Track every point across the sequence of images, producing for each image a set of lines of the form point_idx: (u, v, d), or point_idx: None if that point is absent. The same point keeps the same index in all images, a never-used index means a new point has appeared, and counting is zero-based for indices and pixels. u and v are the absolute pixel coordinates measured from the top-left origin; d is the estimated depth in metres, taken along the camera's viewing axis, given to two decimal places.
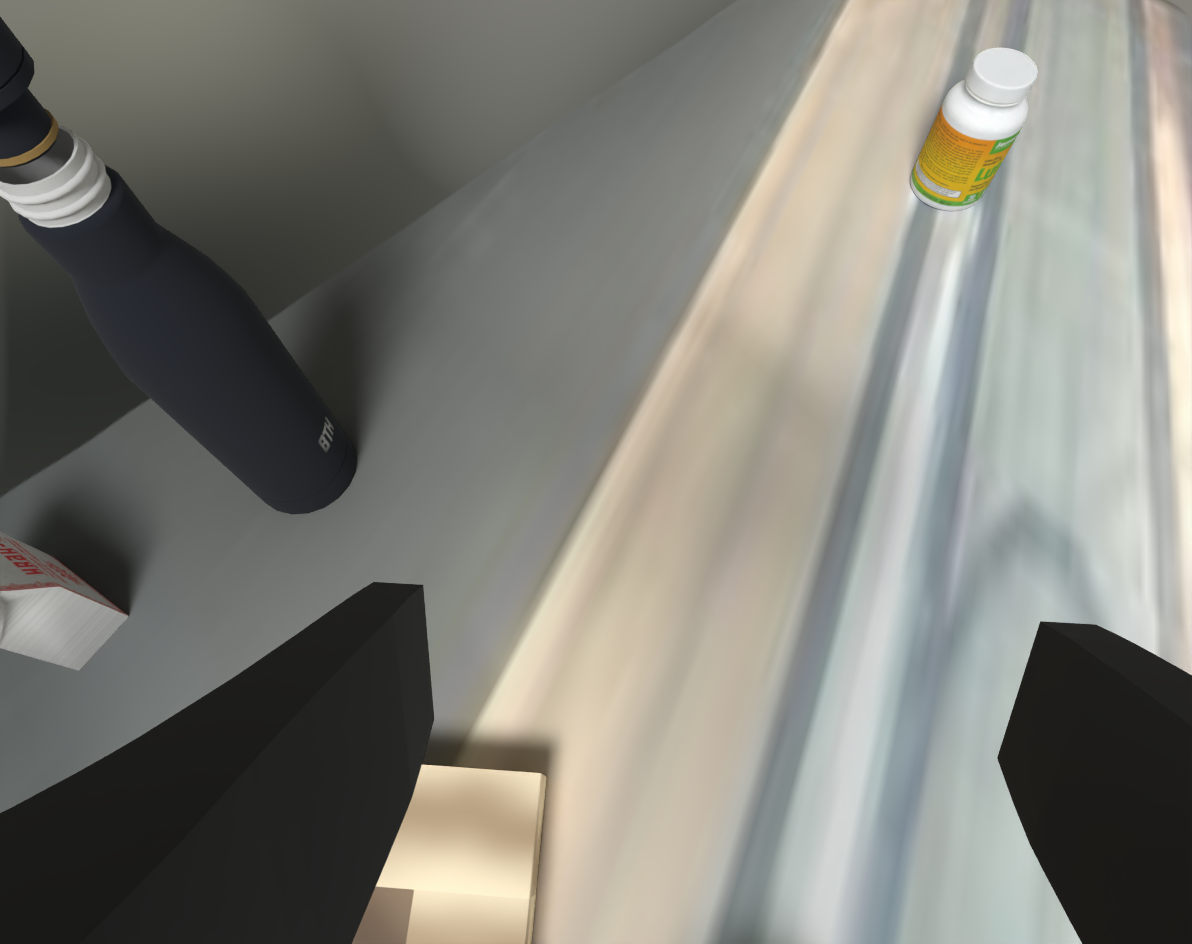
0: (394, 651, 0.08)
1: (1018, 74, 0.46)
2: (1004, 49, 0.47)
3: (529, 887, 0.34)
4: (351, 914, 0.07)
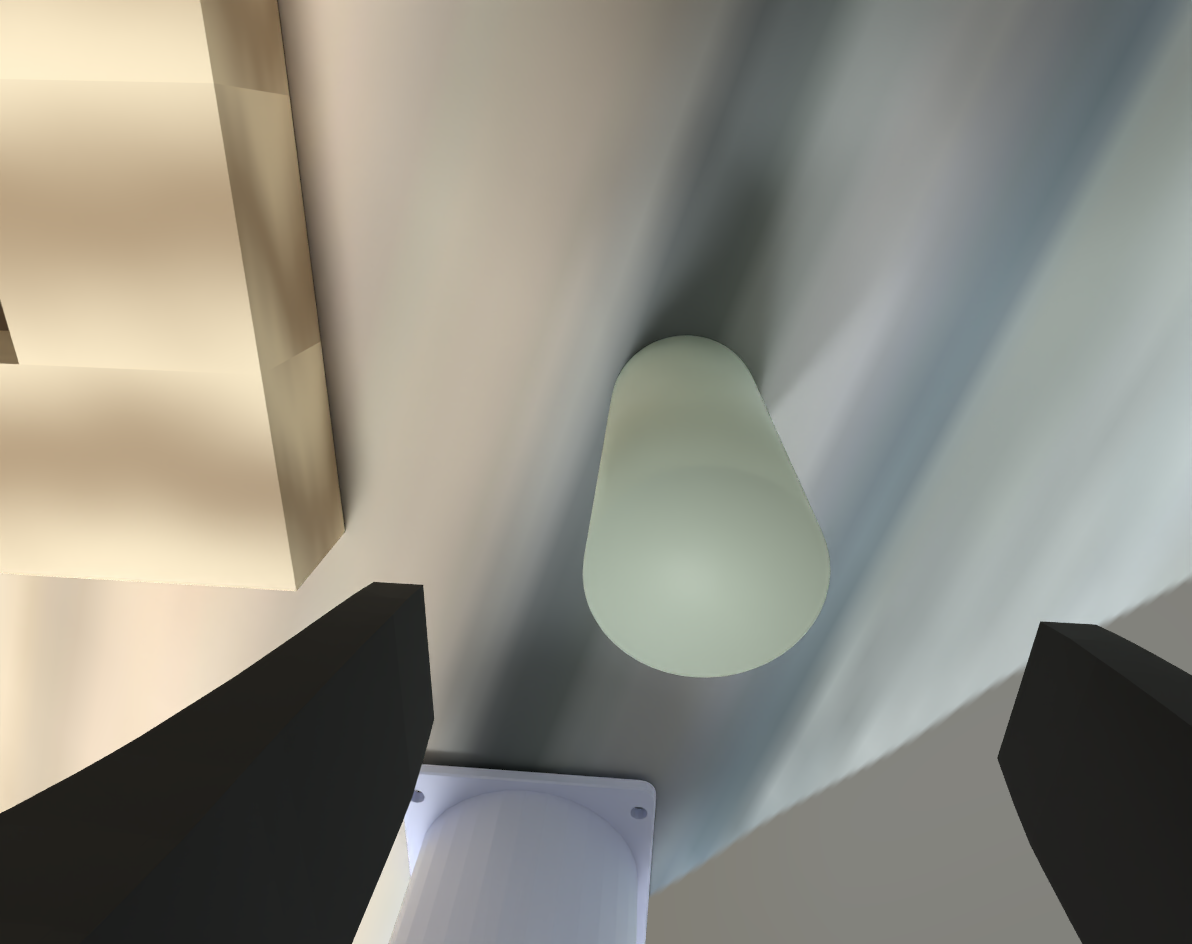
0: (394, 651, 0.08)
1: None
2: None
3: (207, 54, 0.13)
4: (351, 914, 0.07)
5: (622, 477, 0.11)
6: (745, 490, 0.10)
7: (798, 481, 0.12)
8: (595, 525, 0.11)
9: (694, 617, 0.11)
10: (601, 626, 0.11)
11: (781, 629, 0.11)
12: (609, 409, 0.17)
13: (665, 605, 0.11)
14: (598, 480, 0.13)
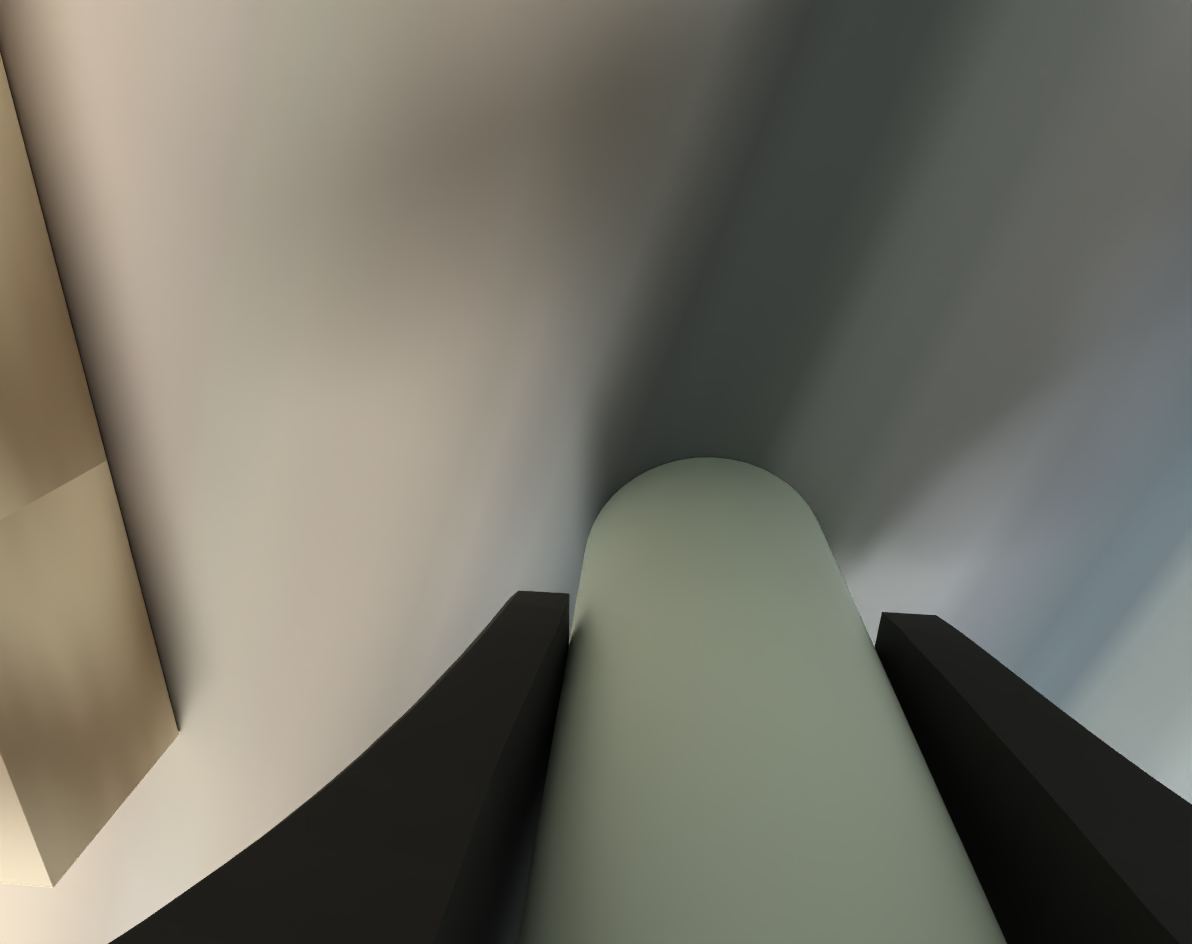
0: (557, 662, 0.08)
1: None
2: None
3: None
4: None
5: None
6: None
7: None
8: None
9: None
10: None
11: None
12: None
13: None
14: (529, 889, 0.06)
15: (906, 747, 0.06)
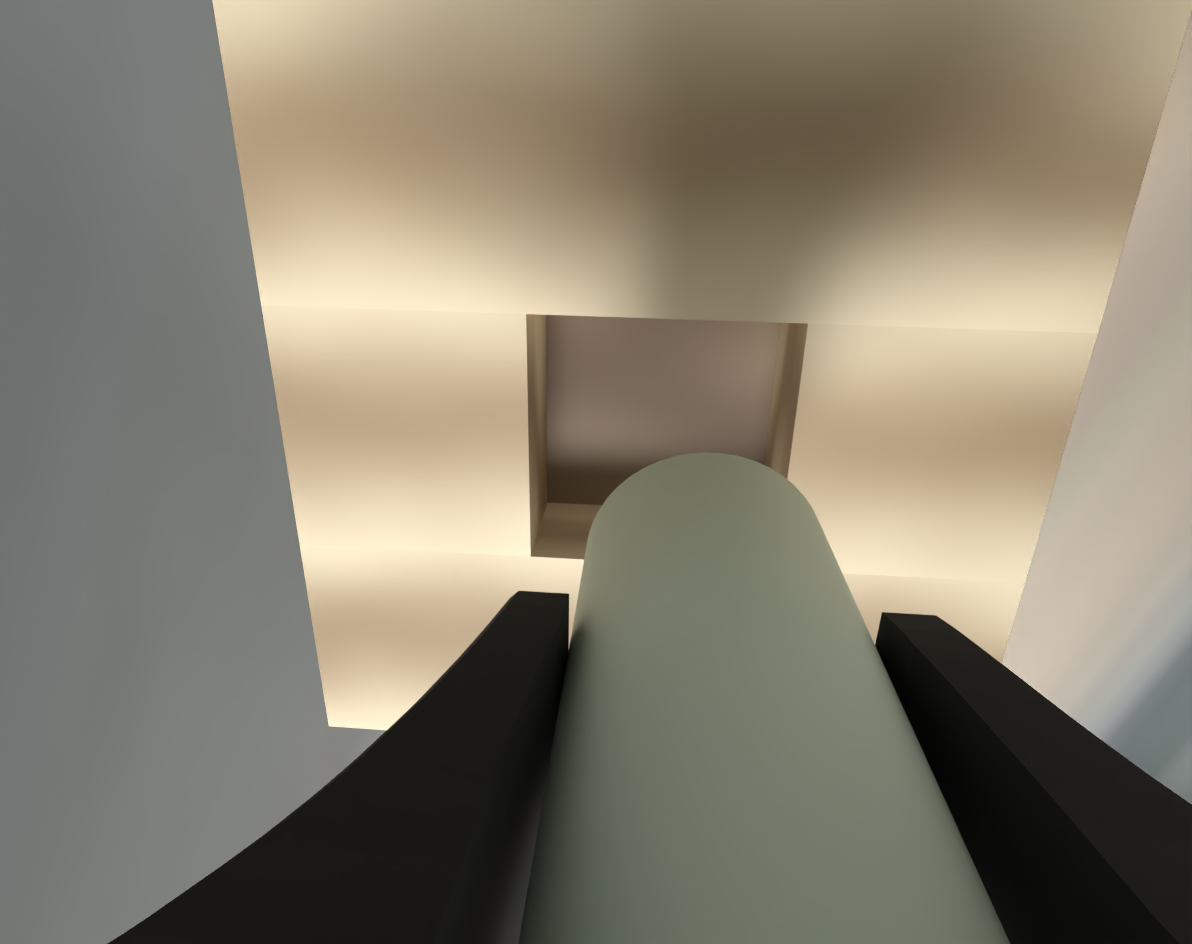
0: (557, 661, 0.08)
1: None
2: None
3: (1101, 307, 0.13)
4: None
5: None
6: None
7: None
8: None
9: None
10: None
11: None
12: None
13: None
14: (530, 878, 0.06)
15: (893, 723, 0.06)
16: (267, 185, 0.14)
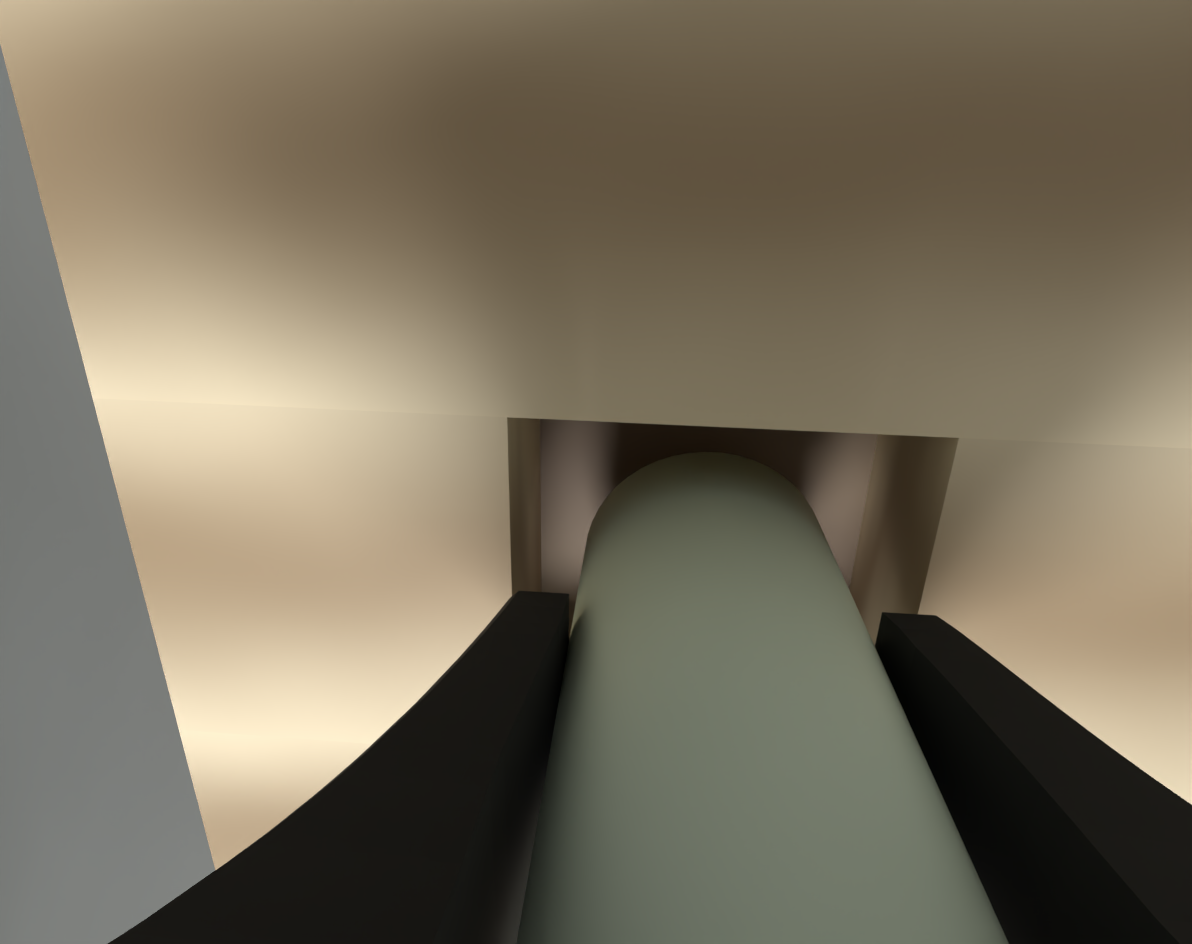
0: (556, 662, 0.08)
1: None
2: None
3: None
4: None
5: None
6: None
7: None
8: None
9: None
10: None
11: None
12: None
13: None
14: (528, 877, 0.06)
15: (892, 723, 0.06)
16: (86, 213, 0.08)
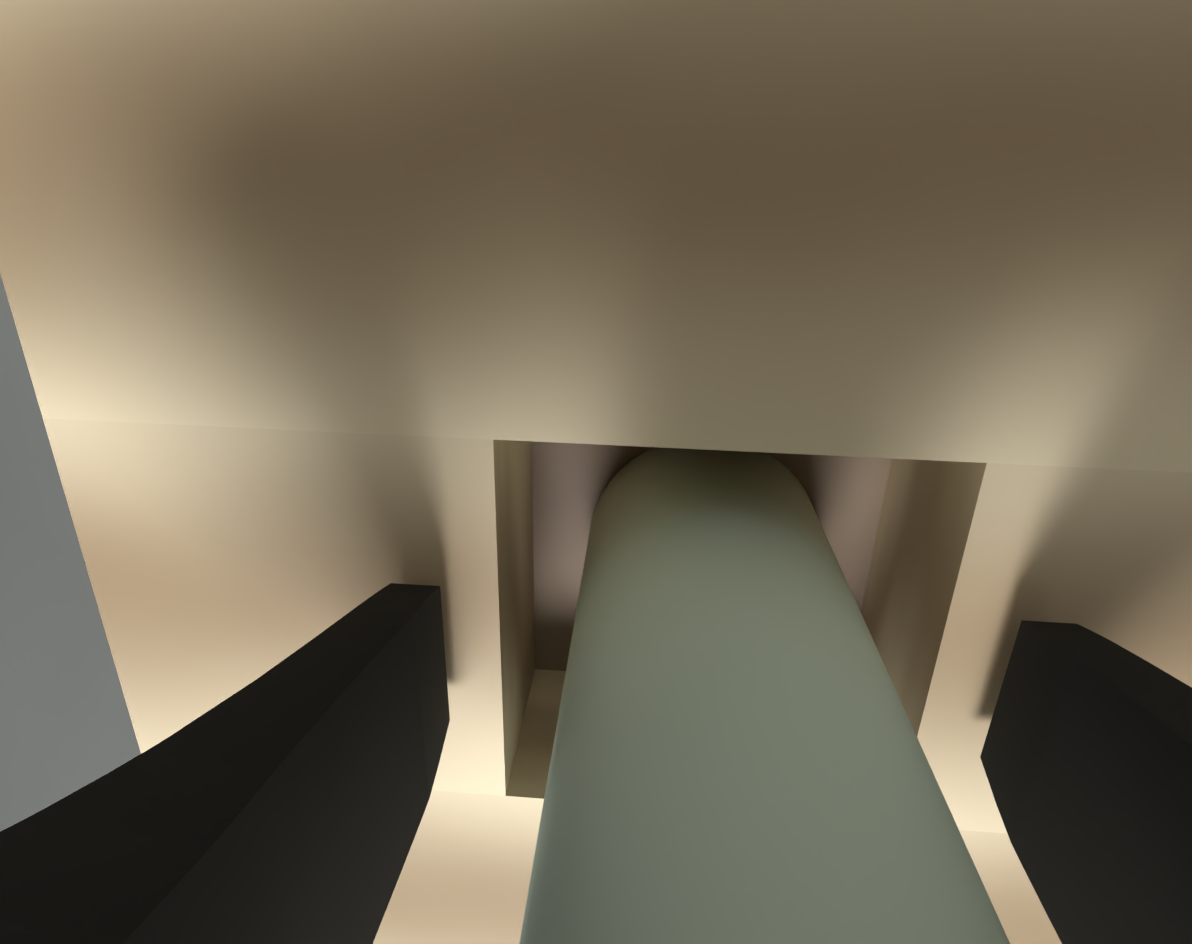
0: (413, 652, 0.08)
1: None
2: None
3: None
4: (371, 916, 0.07)
5: (569, 928, 0.05)
6: None
7: (971, 867, 0.05)
8: None
9: None
10: None
11: None
12: None
13: None
14: (541, 814, 0.06)
15: (873, 676, 0.07)
16: (29, 218, 0.08)
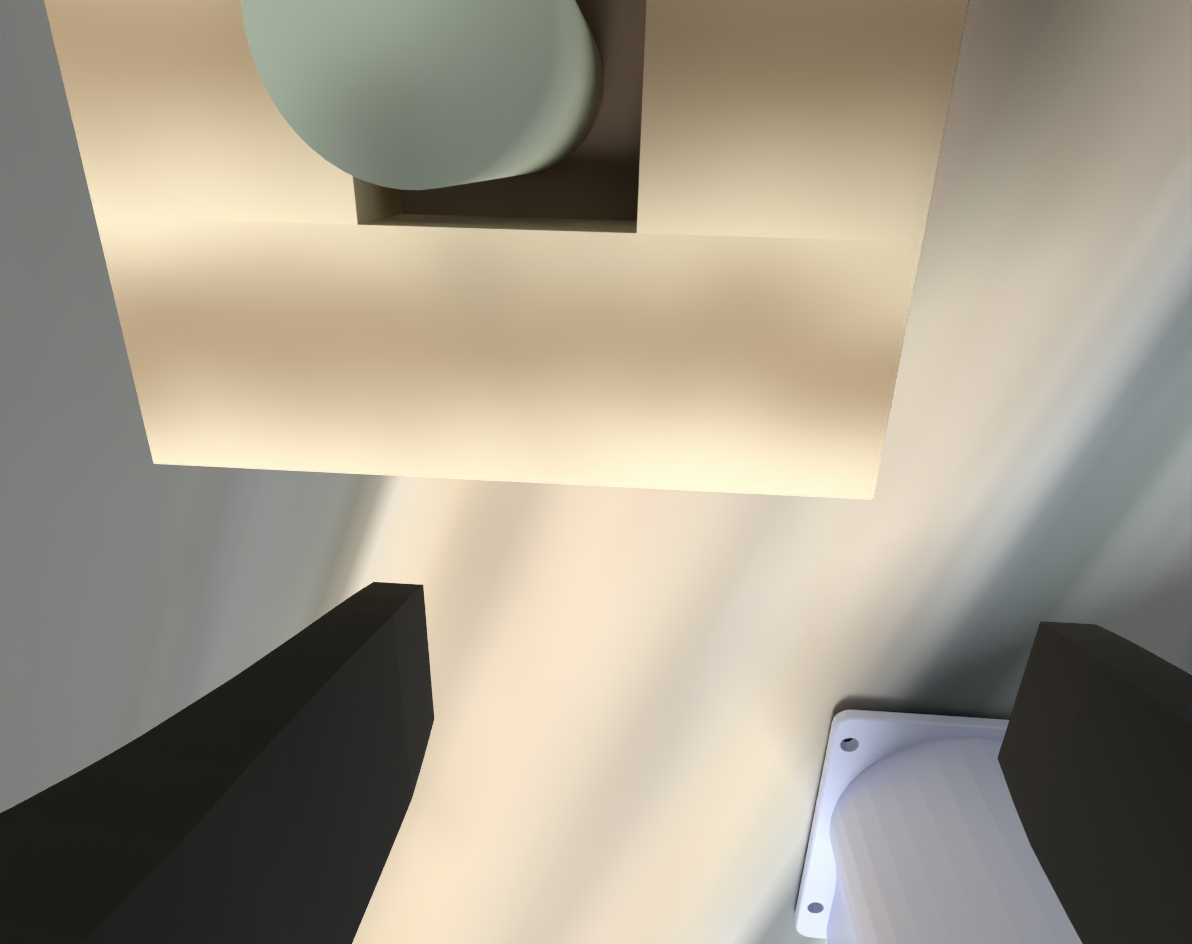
0: (394, 651, 0.08)
1: None
2: None
3: None
4: (351, 914, 0.07)
5: None
6: None
7: None
8: None
9: (398, 87, 0.09)
10: (288, 121, 0.09)
11: (510, 93, 0.08)
12: None
13: (359, 72, 0.08)
14: None
15: None
16: None
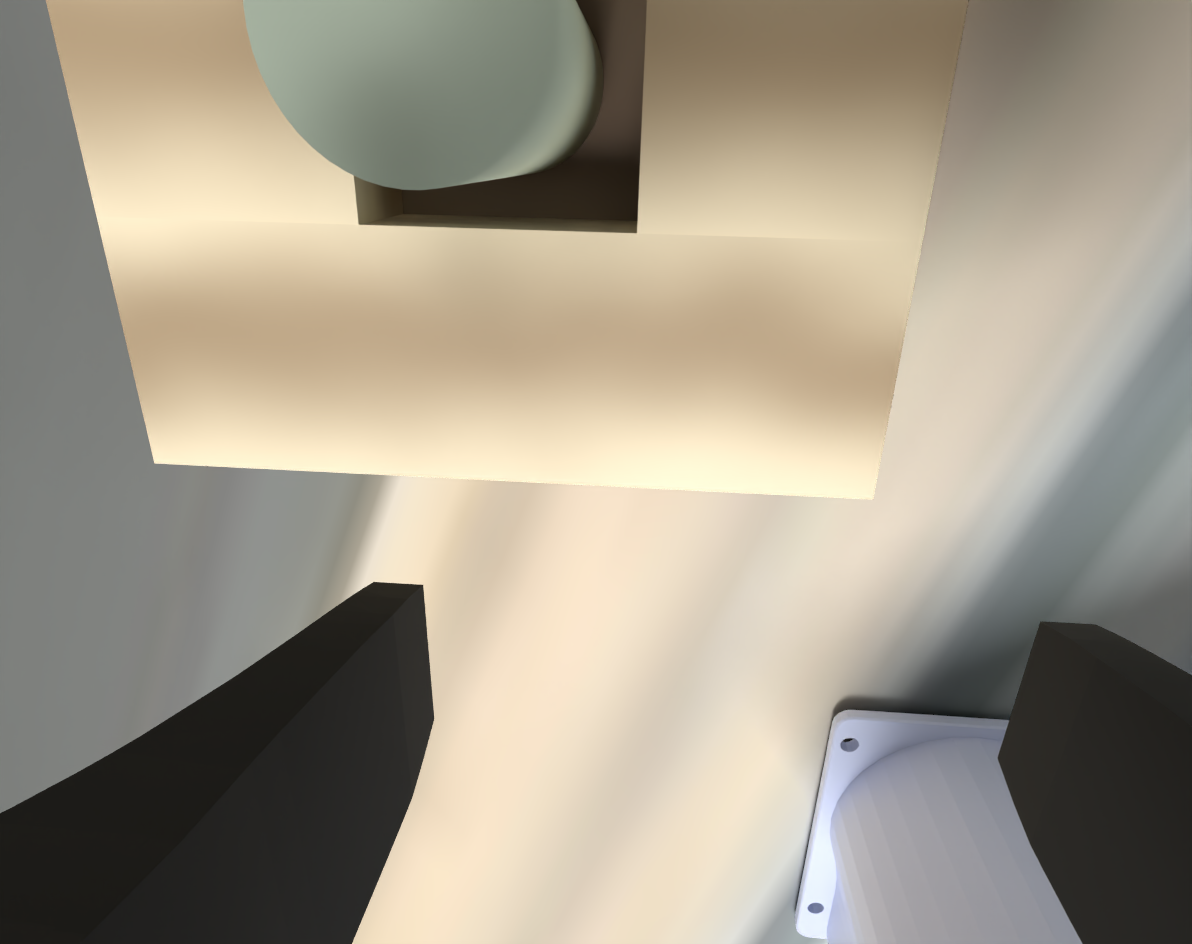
0: (394, 651, 0.08)
1: None
2: None
3: None
4: (351, 914, 0.07)
5: None
6: None
7: None
8: None
9: (400, 88, 0.09)
10: (290, 121, 0.09)
11: (511, 94, 0.08)
12: None
13: (361, 73, 0.09)
14: None
15: None
16: None
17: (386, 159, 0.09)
